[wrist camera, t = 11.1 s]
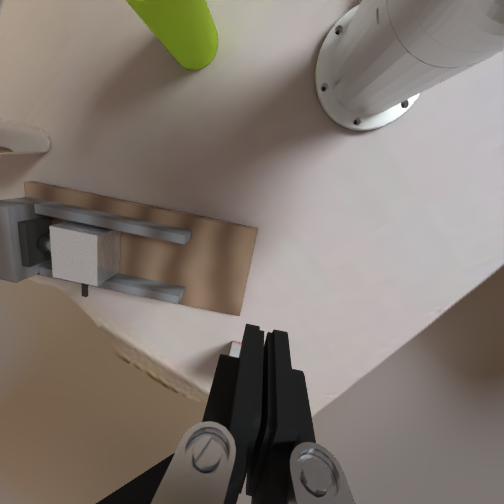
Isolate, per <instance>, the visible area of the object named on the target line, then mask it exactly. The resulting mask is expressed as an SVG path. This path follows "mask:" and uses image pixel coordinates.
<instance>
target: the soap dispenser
mask: <svg viewBox="0 0 504 504" xmlns="http://www.w3.org/2000/svg"><path fill="white" fill-rule="evenodd" d="M126 1H127V2H128V4H129V5H130V6H131V7H132V8H133V10H134V11H135V12H136V13H137V14H138V15H139V17H140V18H141V19H142V20H143V21H144V23H145V24H146V25H147V26H148V27H149V28H150V30H151V31H152V32H153V33H154V34H155V36H156V37H157V38H158V39H159V40H160V41H161V43H162V44H163V45H164V46H165V47H166V49H167V50H168V51H169V52H170V53H171V54H172V56H173V57H174V58H175V59H176V60H177V62H178V63H179V64H181V65H182V66H183V67H185V68H187V69H191V70H198V69H202V68H204V67H206V66H207V65H208V64H209V63H210V62H211V61H212V60H213V58H214V57H215V54H216V52H217V48H218V34H217V30H216V27H215V25H214V22H213V19H212V17H211V14H210V11H209V9H208V6H207V3H206V1H205V0H126Z"/></svg>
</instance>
